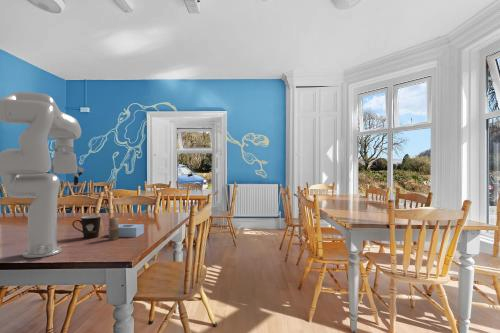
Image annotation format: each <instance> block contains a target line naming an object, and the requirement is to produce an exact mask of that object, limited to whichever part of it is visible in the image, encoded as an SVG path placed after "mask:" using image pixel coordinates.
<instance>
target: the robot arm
mask: <svg viewBox="0 0 500 333" xmlns="http://www.w3.org/2000/svg"><path fill="white" fill-rule="evenodd" d="M0 122H1V123H4V124H14V125H17V124H18V125H28V126H27V127H26V128H25V129H24V130H23V131H22V133H20V135H19V137H18V140H17V141H18V145H19V146H18V147H19V148H7V149H4V150H2V151H1V152H0V178H1V181H2V185H3V188H4V190H5V193H6V195H7V196H8V197H10V198H13V199H28V198H31V199H35V200H34V201H33V202H32V203H30V205H29V207H28V209H27V250H25V251H23V252H22V257H23V258H28V259H29V258H30V259H34V258H37V259H38V258H45V257H50V256H53V255H57V254H60V253H61V252H62V248H61V247H60V246H58V245H57V244H58V198H59V191H60V187H61V186H60V185H61V181H60V178H59V177H58V176H57V174H58V175H59V174H63V175H64V174H66V175H67V174H70V175H71V174H72V176H74V177H73V185H74V186H77V185H78V184H79V178H80V177H81V175H82V174H83V172H85V169H84V168H83V167H81V166H79V165H78V161H77V155H76V153H74V149H75V148H74V140H78V139H80V138H81V136H82V128H81V126H80V124H79V121H78V119H76V118H75V117H73V116H72V115H70V114H68V113H65V112H64V111H61V110H60V108H59V107H58V105H57V103H56V101H55V100H54V98H53V97H52V96H50V95H48V94H46V93H42V92H40V93H39V92H28V91H27V92H26V91H17V92H12V93H9V94H8V95H5V96H3V97H1V98H0ZM48 138H49V139H51V140H52V139H53V140H55V147H51V150H52V152H55V153H53V158H52V160H51V154H50V149H49V143H48ZM78 170H79V172H78ZM50 171H51V173H50ZM77 172H78V173H77Z"/></svg>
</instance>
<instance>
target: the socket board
mask: <svg viewBox="0 0 500 333" xmlns="http://www.w3.org/2000/svg"><path fill="white" fill-rule="evenodd" d="M144 233H145V224H139V223H138V224H132V223H131V224H130V223H129V224H128V223H127V224H126V223H123V224H122V223H121V224H120V223H119V238H120V237H121V238H137V237H139V236H141V235H143V234H144Z"/></svg>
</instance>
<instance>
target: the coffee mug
mask: <svg viewBox="0 0 500 333" xmlns="http://www.w3.org/2000/svg"><path fill="white" fill-rule="evenodd" d="M101 218H102V215H85V216H81V217H80V219H81V220H80V219H76V220H73V221H72V227H73V228H74V229H75V230H77V231H78V232H81V233H82V236H83V239H87V240H89V239H90V240H91V239H97V238H99V234H100V228H101ZM76 222H79V223H80V224H81V227H82V228H81V229H82V230H81V229H79V228H77V227H76V226H75V223H76Z"/></svg>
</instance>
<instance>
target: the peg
mask: <svg viewBox="0 0 500 333" xmlns="http://www.w3.org/2000/svg"><path fill="white" fill-rule="evenodd" d="M119 218H120V217H109V220H108V221H109V223H108V224H109V227H108V238H109V241H117V240H119V238H120V237H119V224H120V222H119V221H120V220H119Z"/></svg>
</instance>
